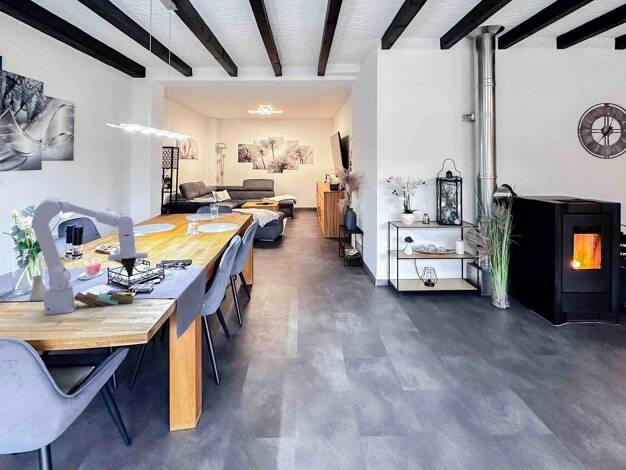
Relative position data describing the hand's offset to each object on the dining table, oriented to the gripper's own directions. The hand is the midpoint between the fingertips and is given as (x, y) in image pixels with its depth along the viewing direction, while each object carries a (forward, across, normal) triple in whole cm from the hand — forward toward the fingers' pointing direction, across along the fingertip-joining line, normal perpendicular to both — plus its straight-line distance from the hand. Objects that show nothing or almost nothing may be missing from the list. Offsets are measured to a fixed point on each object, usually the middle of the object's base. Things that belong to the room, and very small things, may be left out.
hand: (130, 275), depth 156 cm
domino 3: (+10, -5, -4) cm, 11 cm away
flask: (+11, -38, +12) cm, 41 cm away
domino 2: (+10, -9, -4) cm, 14 cm away
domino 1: (+10, -13, -3) cm, 17 cm away
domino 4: (+10, 0, -4) cm, 10 cm away
